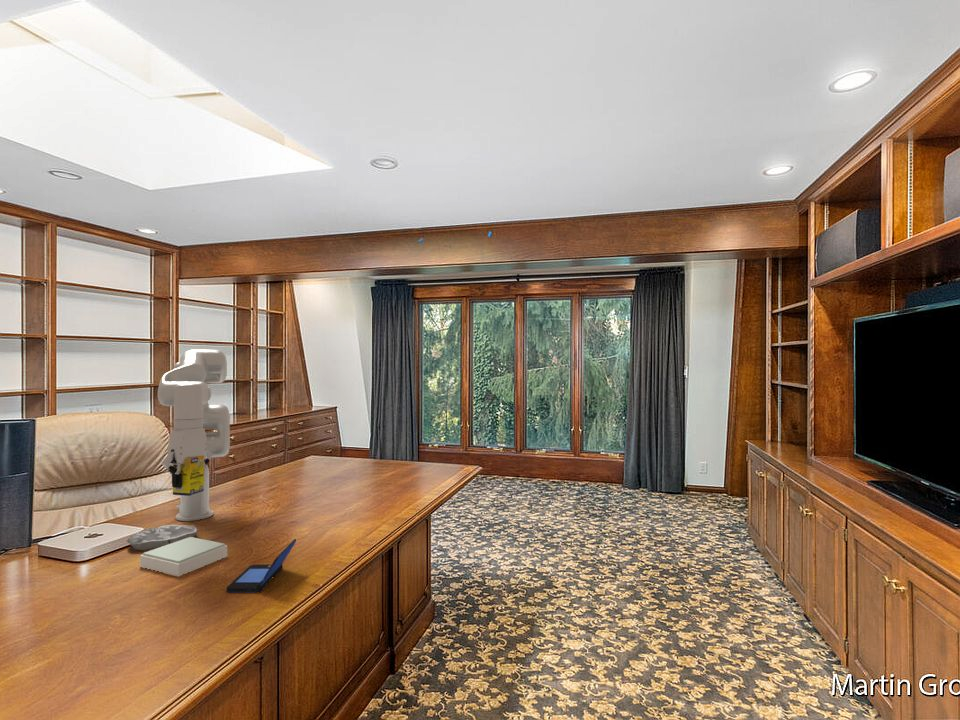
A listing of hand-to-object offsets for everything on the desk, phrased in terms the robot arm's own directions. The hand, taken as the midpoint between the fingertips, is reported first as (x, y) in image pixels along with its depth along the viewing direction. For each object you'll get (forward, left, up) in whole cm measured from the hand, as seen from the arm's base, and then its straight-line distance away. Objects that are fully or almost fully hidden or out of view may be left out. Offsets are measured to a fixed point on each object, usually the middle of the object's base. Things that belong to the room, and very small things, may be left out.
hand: (188, 484), depth 154 cm
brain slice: (-23, +8, -23) cm, 34 cm away
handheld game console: (+31, -1, -23) cm, 39 cm away
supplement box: (0, 0, -3) cm, 3 cm away
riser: (0, -1, -23) cm, 23 cm away
